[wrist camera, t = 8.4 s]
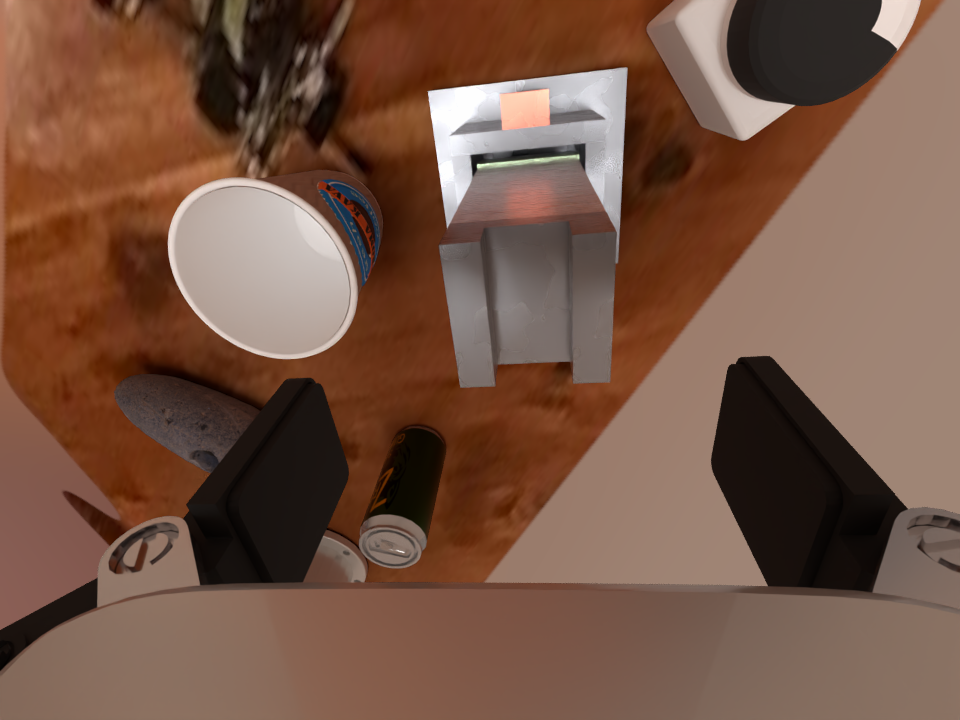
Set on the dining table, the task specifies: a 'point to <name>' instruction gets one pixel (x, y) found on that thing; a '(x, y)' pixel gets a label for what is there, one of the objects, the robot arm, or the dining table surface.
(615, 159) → the base
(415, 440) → the beer can
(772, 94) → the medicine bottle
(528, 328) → the jack column
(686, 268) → the dining table surface
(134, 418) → the perforated stone tool
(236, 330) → the coffee cup
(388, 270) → the dining table surface
